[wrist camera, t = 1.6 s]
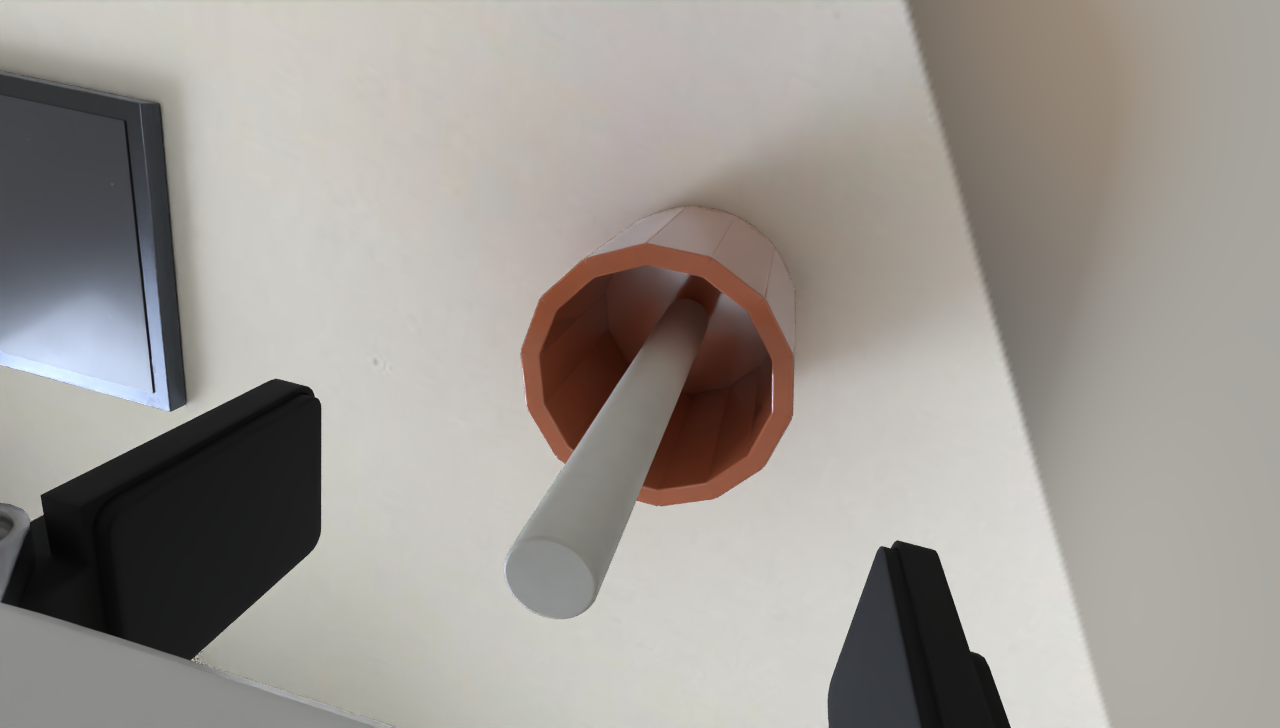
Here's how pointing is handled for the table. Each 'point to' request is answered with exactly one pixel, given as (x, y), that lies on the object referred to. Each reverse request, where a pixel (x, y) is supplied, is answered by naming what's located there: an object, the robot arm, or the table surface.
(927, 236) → the table surface
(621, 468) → the stylus
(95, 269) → the tablet
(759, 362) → the pencil cup
